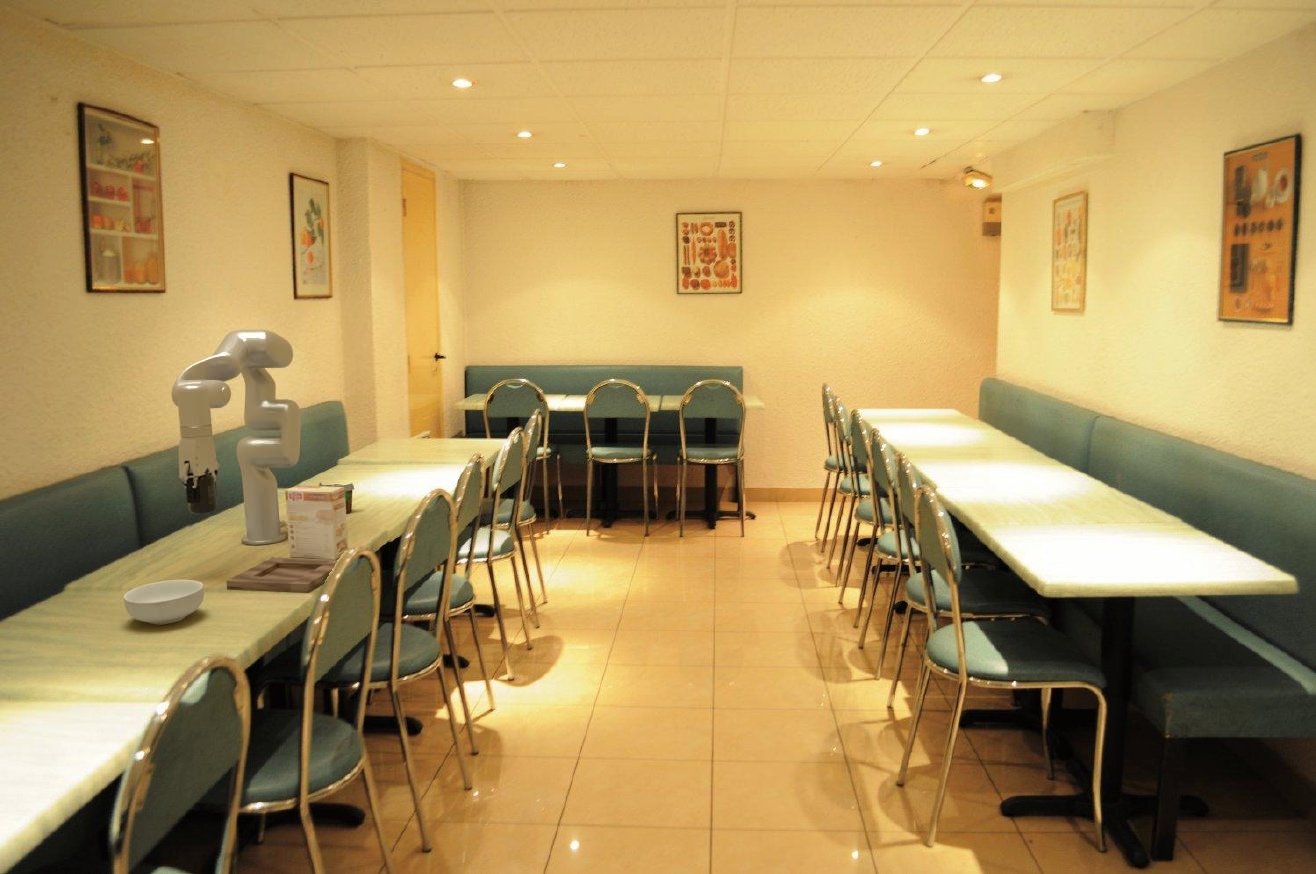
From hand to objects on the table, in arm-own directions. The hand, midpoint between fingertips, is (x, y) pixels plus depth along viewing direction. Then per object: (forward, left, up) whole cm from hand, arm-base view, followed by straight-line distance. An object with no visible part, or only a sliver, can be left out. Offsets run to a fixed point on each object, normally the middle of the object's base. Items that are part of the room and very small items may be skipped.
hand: (202, 498), depth 269 cm
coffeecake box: (-24, +19, -21) cm, 37 cm away
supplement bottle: (0, 0, -3) cm, 3 cm away
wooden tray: (-2, +22, -21) cm, 31 cm away
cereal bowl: (+32, +10, -21) cm, 40 cm away
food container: (-73, -1, -21) cm, 76 cm away
